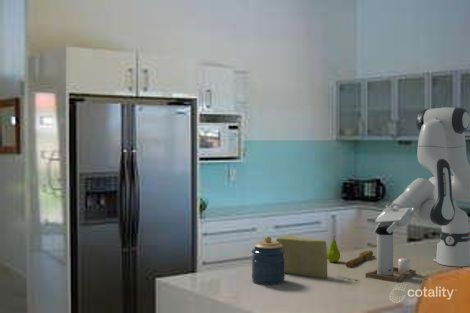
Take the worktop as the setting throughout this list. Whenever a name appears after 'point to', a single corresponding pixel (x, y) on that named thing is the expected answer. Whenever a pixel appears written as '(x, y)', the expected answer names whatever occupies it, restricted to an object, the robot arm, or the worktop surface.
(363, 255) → the tap handle
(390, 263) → the travel mug
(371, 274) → the tray
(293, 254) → the cheese
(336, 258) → the fruit
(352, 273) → the worktop surface
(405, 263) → the white egg
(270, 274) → the canister
